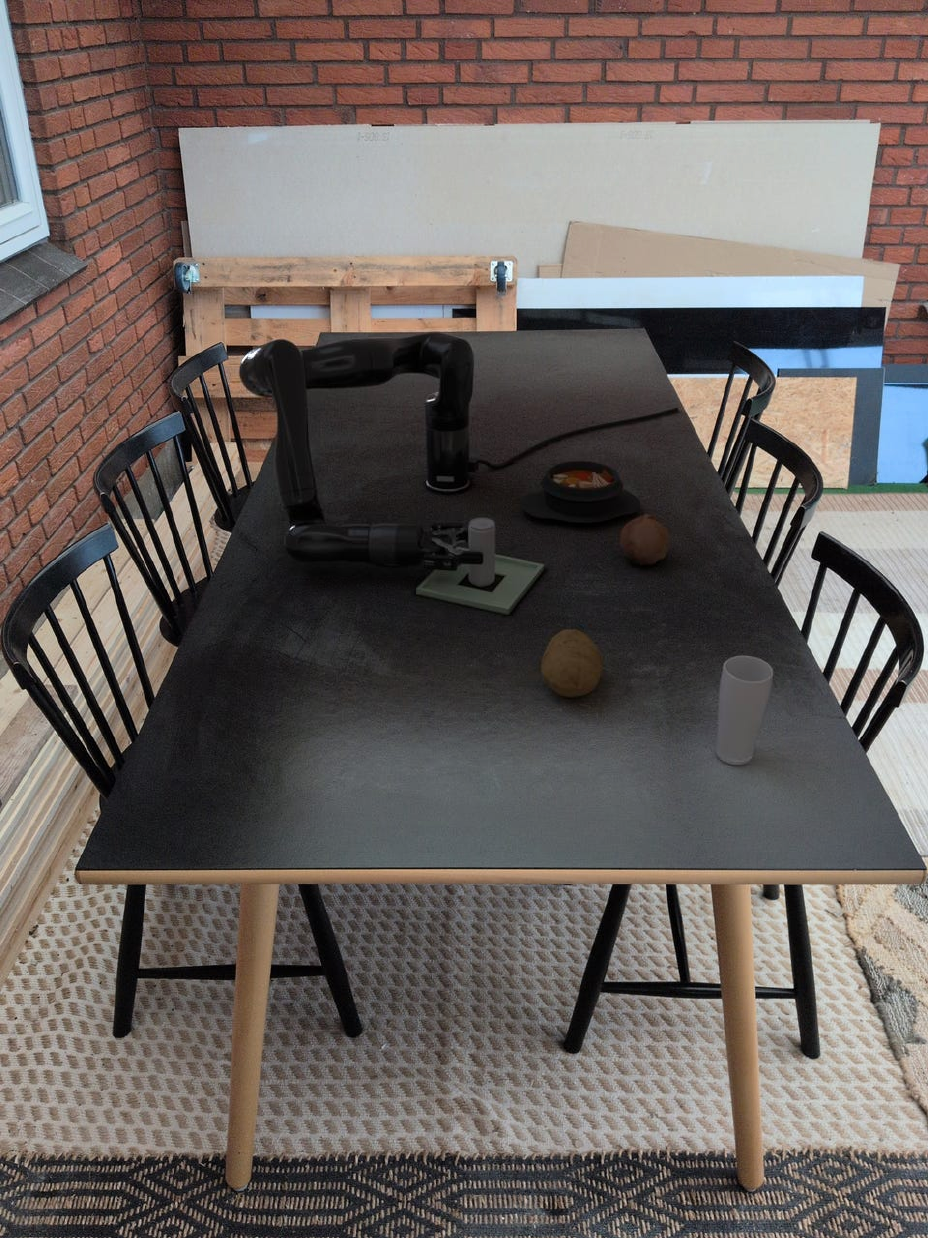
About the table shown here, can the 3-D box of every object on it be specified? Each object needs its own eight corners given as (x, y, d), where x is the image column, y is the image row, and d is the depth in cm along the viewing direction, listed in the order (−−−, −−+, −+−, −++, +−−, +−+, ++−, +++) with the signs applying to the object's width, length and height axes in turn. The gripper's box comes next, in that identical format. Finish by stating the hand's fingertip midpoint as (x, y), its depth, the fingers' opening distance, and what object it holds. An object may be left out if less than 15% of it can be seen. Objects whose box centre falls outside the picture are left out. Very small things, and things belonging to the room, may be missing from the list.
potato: (597, 661, 168) (601, 619, 164) (605, 712, 156) (609, 669, 152) (537, 660, 169) (539, 618, 165) (540, 711, 157) (542, 668, 153)
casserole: (627, 490, 226) (631, 454, 221) (649, 528, 210) (653, 490, 206) (514, 495, 224) (515, 459, 219) (528, 534, 208) (529, 495, 203)
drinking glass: (703, 742, 150) (716, 655, 142) (749, 739, 151) (764, 653, 143) (717, 772, 145) (731, 684, 137) (764, 769, 145) (781, 681, 137)
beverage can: (492, 589, 189) (492, 530, 182) (466, 586, 190) (466, 527, 183) (496, 576, 193) (497, 518, 187) (471, 574, 194) (471, 516, 187)
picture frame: (457, 551, 201) (457, 546, 201) (544, 569, 195) (544, 564, 194) (416, 594, 187) (416, 588, 187) (508, 614, 181) (508, 609, 180)
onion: (637, 565, 203) (643, 514, 202) (677, 569, 196) (682, 516, 195) (606, 563, 196) (612, 510, 195) (646, 567, 189) (652, 512, 189)
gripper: (389, 543, 180) (482, 546, 179) (400, 508, 193) (487, 511, 191) (391, 581, 184) (482, 584, 183) (401, 544, 196) (486, 547, 195)
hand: (484, 547), depth 187 cm, fingers open, 8 cm apart
